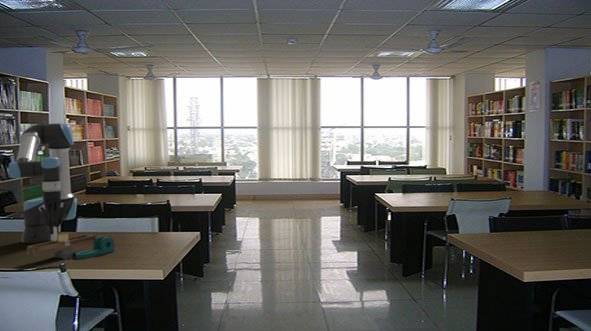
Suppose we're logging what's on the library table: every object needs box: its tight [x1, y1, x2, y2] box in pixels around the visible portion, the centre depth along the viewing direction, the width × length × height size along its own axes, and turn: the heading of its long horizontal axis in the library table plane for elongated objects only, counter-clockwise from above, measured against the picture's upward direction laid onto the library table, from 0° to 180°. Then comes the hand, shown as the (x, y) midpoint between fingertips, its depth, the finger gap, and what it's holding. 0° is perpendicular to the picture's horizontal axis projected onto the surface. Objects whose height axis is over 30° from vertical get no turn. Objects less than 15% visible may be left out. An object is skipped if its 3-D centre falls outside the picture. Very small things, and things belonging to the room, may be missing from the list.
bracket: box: [74, 235, 115, 260], centre depth 236 cm, size 18×7×8 cm, turn 145°
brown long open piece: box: [26, 233, 96, 260], centre depth 233 cm, size 9×30×8 cm, turn 149°
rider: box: [53, 232, 69, 244], centre depth 232 cm, size 4×5×5 cm
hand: (54, 240), depth 229 cm, fingers closed
